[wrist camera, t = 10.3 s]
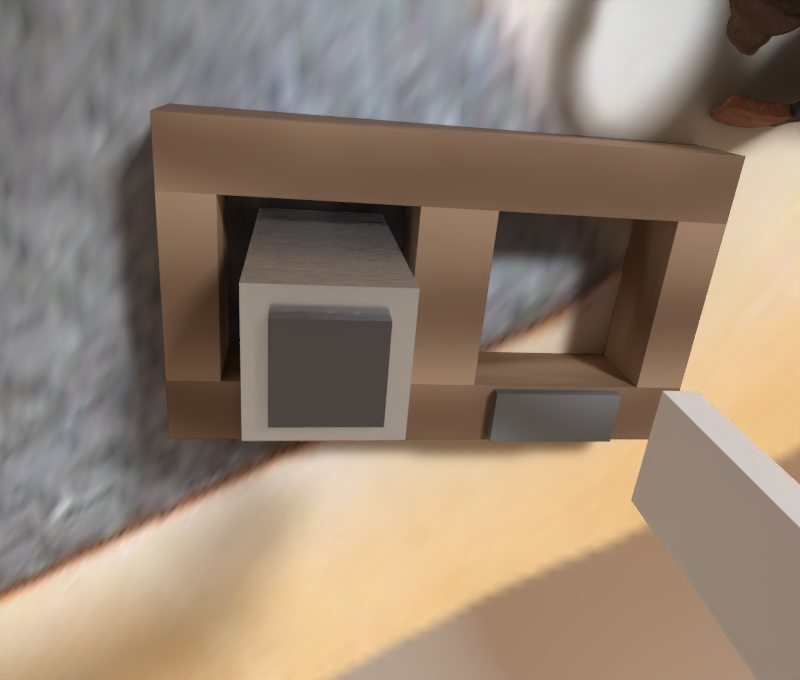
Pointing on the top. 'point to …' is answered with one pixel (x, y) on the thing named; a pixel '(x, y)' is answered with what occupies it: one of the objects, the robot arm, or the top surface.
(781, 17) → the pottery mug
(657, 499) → the robot arm
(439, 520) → the top surface
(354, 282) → the plug
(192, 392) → the socket board
